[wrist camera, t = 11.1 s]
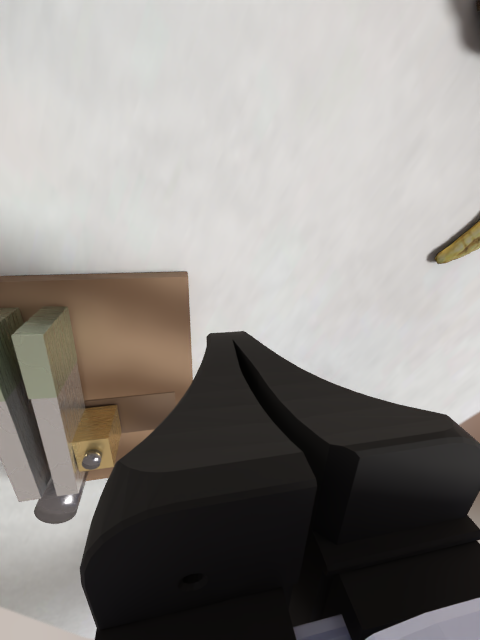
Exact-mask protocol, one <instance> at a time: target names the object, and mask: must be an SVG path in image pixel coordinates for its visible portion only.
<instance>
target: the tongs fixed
mask: <svg viewBox="0 0 480 640" xmlns="http://www.w3.org/2000/svg"><path fill="white" fill-rule="evenodd" d="M23 324H24V323H23V319H22V316H21V313H20V309H19V307H16V308H0V458H1V460H2V463H3V465H4V467H5V470H6V472H7V474H8V477H9V479H10V482H11V484H12V486H13V489H14V491H15V494H16V496H17V498H18V501H19V502H22V501H28V500H35V499H39V500H38V503H37V505H36V507H35V510H34V514H35V516H36V517H37V518H38V519H39V520H40V521H43V522H45V523H51V524H58V523H63V522H66V521H68V520H70V519H72V518H73V517H74V516H75V514H76V512H77V509H78V505H79V502H80V499H81V495H82V492H83V489H84V485H85V482H86V479H87V475H88V472H89V470H88V471H85V475H84V478H83V481H82V484H81V487H80V491H79V493H78V494H71V495H63V496H57V494H56V490H55V487H54V483H53V479H52V476H51V472H50V468H49V464H48V461H47V457H46V453H45V450H44V446H43V442H42V439H41V435H40V431H39V427H38V424H37V420H36V416H35V413H34V409H33V405H32V402H31V399H28V396H27V392H26V388H25V385H24V381H23V377H22V374H21V370H20V366H19V363H18V359H17V355H16V352H15V348H14V345H13V341H12V337H11V335H12V334H14V333H15V332H16V331H17V330H18V329H19V328H20V327H21V326H22V325H23Z"/></svg>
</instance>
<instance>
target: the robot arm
mask: <svg viewBox="0 0 480 640" xmlns="http://www.w3.org/2000/svg"><path fill="white" fill-rule="evenodd" d="M479 491H480V443H479V442H478V441H476V440H475V439H474V438H473V437H472V436H471V435H470V434H468V433H467V432H466V431H465V430H464V429H463V428H461V427H460V426H459V425H458V424H457V423H456V422H455V421H453V420H452V419H451V418H450V417H449V416H447V415H445V414H440V413H435V412H431V411H426V410H421V409H417V408H412V407H407V406H403V405H399V404H395V403H391V402H387V401H384V400H380V399H377V398H373V397H370V396H367V395H364V394H361V393H357V392H354V391H352V390H349V389H346V388H344V387H341V386H338V385H336V384H333V383H331V382H328V381H326V380H324V379H322V378H319V377H317V376H315V375H313V374H311V373H309V372H307V371H305V370H303V369H301V368H299V367H297V366H296V365H294V364H292V363H291V362H289V361H287V360H286V359H284V358H282V357H281V356H279V355H278V354H276V353H275V352H273V351H272V350H270V349H269V348H267V347H266V346H264V345H263V344H262V343H260V342H259V341H257V340H256V339H255V338H253V337H252V336H251V335H249V334H248V333H246V332H244V331H241V332H225V333H210V334H209V335H208V336H207V347H206V351H205V354H204V357H203V360H202V363H201V365H200V367H199V370H198V372H197V374H196V376H195V378H194V380H193V381H192V383H191V385H190V387H189V388H188V390H187V391H186V393H185V394H184V396H183V397H182V398H181V400H180V401H179V402H178V404H177V405H176V406H175V408H174V409H173V410H172V411H171V413H170V414H169V415H168V416H167V417H166V418H165V419H164V420H163V421H162V422H161V423H160V424H159V425H158V426H157V427H156V428H155V430H154V431H153V432H152V433H151V434H150V435H149V436H147V437H146V438H145V439H144V440H143V441H142V442H141V443H139V444H138V445H137V446H136V447H134V448H133V449H132V450H131V451H130V452H128V453H127V454H126V455H125V456H123V457H122V458H121V459H119V460H118V461H117V462H116V464H115V466H114V468H113V470H112V472H111V474H110V476H109V478H108V481H107V483H106V485H105V487H104V490H103V492H102V495H101V497H100V500H99V502H98V505H97V508H96V510H95V513H94V516H93V519H92V522H91V526H90V529H89V533H88V537H87V542H86V546H85V550H84V554H83V558H82V562H81V566H80V575H81V584H82V587H83V590H84V593H85V596H86V599H87V601H88V604H89V607H90V610H91V613H92V616H93V619H94V621H95V624H96V627H97V630H96V636H95V640H480V544H479V543H478V541H477V540H480V529H479V528H478V527H477V526H476V525H475V523H474V522H473V521H472V520H471V519H470V518H469V517H468V515H467V514H468V512H469V510H470V508H471V506H472V504H473V502H474V500H475V498H476V497H477V495H478V493H479Z"/></svg>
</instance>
